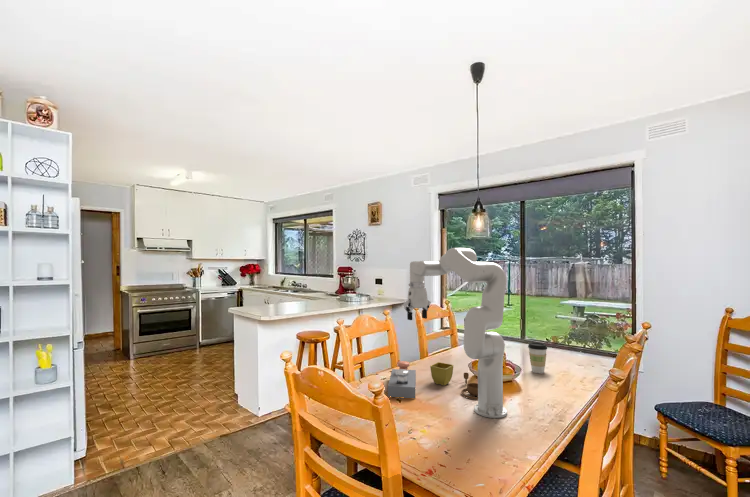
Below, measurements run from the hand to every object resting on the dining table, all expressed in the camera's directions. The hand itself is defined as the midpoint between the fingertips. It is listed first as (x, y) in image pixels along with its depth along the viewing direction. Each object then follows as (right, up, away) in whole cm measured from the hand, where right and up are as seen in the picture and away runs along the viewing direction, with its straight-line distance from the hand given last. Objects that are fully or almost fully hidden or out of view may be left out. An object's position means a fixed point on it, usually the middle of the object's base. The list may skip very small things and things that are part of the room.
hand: (417, 319), depth 181 cm
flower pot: (+12, -31, -5) cm, 34 cm away
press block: (-8, -31, -12) cm, 34 cm away
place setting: (+25, -31, -17) cm, 44 cm away
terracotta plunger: (-7, -27, -5) cm, 28 cm away
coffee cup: (+69, -32, +15) cm, 77 cm away
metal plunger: (-9, -27, -19) cm, 34 cm away
